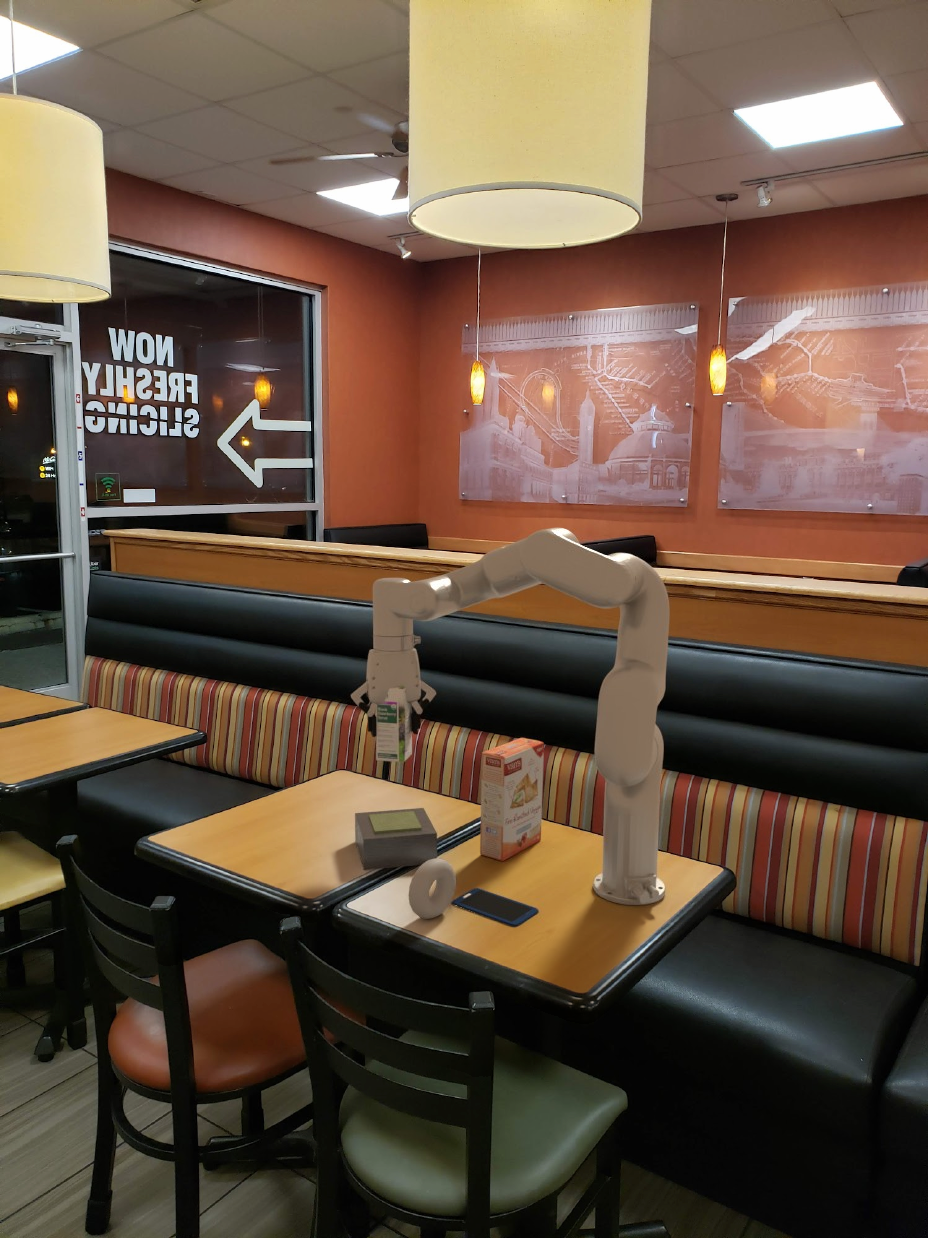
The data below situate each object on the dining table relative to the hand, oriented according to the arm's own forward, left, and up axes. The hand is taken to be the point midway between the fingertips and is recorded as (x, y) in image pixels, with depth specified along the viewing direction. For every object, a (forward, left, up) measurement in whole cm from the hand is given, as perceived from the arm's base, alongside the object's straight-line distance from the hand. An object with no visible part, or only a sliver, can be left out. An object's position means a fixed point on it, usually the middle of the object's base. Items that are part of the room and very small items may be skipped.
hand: (394, 733), depth 174 cm
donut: (-28, -2, -24) cm, 37 cm away
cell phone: (-27, -13, -25) cm, 39 cm away
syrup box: (0, 0, -5) cm, 5 cm away
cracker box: (-3, -23, -24) cm, 34 cm away
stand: (0, 0, -24) cm, 24 cm away
